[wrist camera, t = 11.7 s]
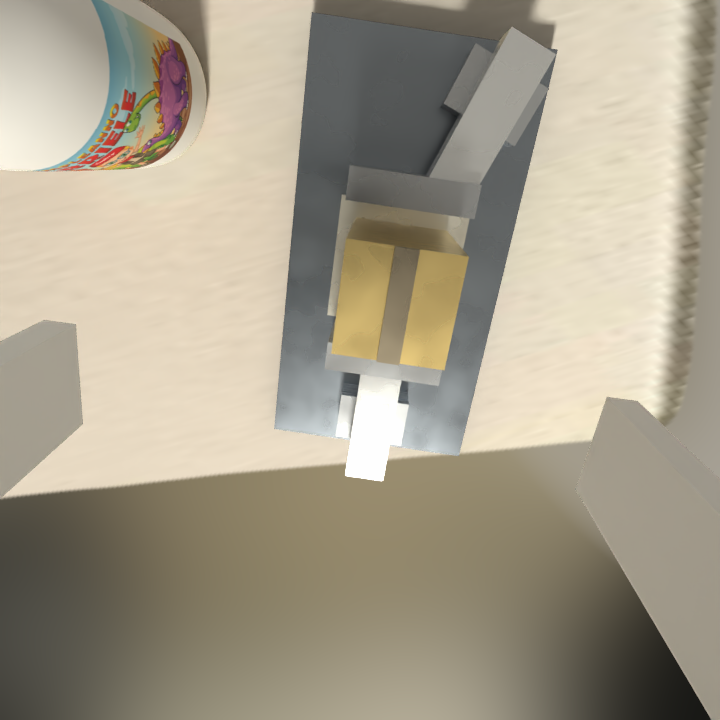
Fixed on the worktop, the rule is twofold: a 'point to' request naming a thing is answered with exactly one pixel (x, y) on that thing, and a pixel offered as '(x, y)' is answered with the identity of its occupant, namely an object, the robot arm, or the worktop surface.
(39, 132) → the milk bottle
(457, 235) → the grey fixture board
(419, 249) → the yellow block
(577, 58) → the worktop surface
